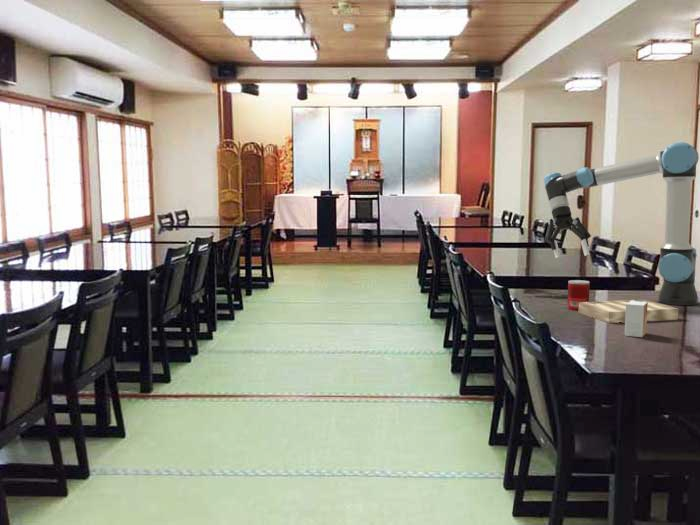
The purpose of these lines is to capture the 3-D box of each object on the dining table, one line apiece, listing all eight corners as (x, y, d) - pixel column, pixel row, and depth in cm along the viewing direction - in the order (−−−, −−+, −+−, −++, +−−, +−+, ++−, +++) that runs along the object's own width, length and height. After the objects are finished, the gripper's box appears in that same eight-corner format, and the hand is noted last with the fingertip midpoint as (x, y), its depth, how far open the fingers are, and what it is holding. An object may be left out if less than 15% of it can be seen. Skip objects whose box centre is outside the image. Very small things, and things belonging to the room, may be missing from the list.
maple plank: (643, 309, 265) (643, 299, 265) (678, 319, 246) (678, 308, 246) (578, 312, 260) (578, 302, 259) (608, 323, 240) (609, 311, 240)
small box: (642, 337, 217) (644, 305, 216) (624, 335, 220) (625, 303, 219) (646, 333, 224) (648, 301, 223) (628, 331, 227) (630, 300, 226)
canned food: (591, 310, 263) (592, 282, 262) (570, 310, 263) (571, 282, 262) (585, 307, 271) (586, 280, 270) (564, 307, 271) (565, 280, 270)
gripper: (581, 210, 293) (594, 256, 287) (529, 213, 287) (541, 261, 281) (590, 203, 286) (603, 250, 280) (538, 206, 280) (550, 255, 274)
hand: (572, 256), depth 280 cm, fingers open, 13 cm apart
